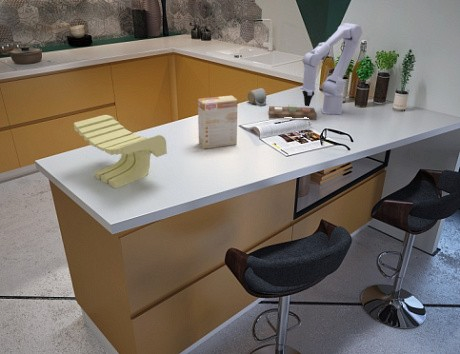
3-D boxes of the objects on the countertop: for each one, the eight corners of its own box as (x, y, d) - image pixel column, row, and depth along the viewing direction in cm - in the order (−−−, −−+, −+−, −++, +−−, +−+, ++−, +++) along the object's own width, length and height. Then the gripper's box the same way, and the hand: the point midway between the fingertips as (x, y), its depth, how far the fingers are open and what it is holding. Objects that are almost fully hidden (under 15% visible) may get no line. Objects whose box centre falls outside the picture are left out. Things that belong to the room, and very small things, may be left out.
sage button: (295, 110, 219) (296, 104, 217) (296, 112, 215) (296, 107, 214) (288, 110, 219) (288, 104, 218) (288, 112, 216) (289, 106, 214)
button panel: (313, 112, 223) (313, 107, 222) (316, 120, 212) (316, 115, 211) (268, 110, 224) (269, 106, 223) (269, 118, 213) (269, 113, 212)
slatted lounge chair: (168, 180, 151) (165, 132, 143) (130, 196, 140) (125, 145, 132) (117, 156, 169) (112, 112, 161) (80, 169, 158) (73, 122, 150)
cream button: (281, 112, 220) (282, 107, 218) (281, 115, 216) (282, 109, 215) (274, 112, 220) (274, 106, 219) (274, 114, 217) (274, 109, 215)
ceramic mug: (246, 102, 237) (246, 88, 234) (258, 100, 241) (259, 86, 238) (257, 107, 229) (258, 93, 226) (269, 105, 233) (270, 91, 230)
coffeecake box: (231, 139, 188) (231, 95, 179) (237, 144, 182) (238, 99, 173) (198, 143, 183) (197, 98, 174) (203, 149, 177) (202, 103, 168)
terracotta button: (309, 113, 219) (309, 108, 218) (310, 116, 216) (310, 110, 214) (301, 113, 219) (302, 107, 218) (302, 115, 216) (302, 110, 215)
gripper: (299, 74, 216) (297, 101, 222) (302, 82, 203) (300, 109, 209) (314, 75, 216) (311, 101, 222) (317, 82, 203) (314, 110, 209)
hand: (306, 105), depth 215 cm, fingers closed
